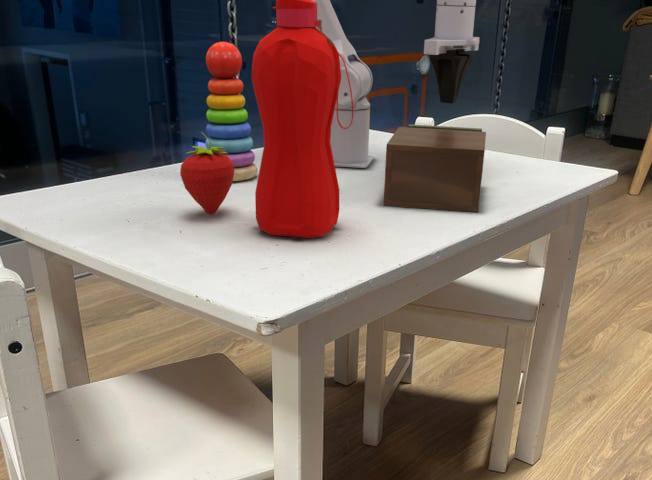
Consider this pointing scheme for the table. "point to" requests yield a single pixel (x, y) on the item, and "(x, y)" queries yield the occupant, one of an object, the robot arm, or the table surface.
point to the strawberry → (208, 176)
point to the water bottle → (297, 123)
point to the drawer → (445, 128)
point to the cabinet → (434, 169)
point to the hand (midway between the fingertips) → (447, 102)
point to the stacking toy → (229, 110)
